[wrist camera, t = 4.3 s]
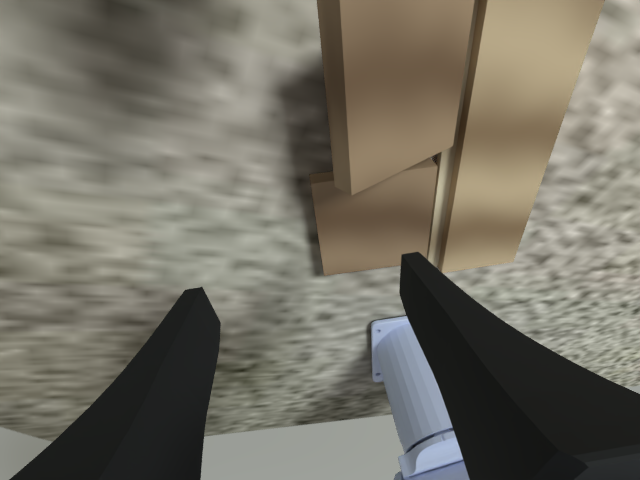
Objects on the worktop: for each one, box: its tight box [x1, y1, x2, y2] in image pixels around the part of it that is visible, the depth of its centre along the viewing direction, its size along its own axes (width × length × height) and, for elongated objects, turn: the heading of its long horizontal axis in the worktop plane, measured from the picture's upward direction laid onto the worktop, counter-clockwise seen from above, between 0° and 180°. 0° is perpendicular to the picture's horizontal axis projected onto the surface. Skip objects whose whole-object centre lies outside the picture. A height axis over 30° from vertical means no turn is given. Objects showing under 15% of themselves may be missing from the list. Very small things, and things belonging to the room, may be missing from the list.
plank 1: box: [317, 0, 475, 195], centre depth 13 cm, size 7×7×1 cm
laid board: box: [426, 0, 605, 273], centre depth 17 cm, size 18×6×1 cm, turn 7°
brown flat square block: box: [309, 158, 438, 276], centre depth 20 cm, size 7×7×1 cm
